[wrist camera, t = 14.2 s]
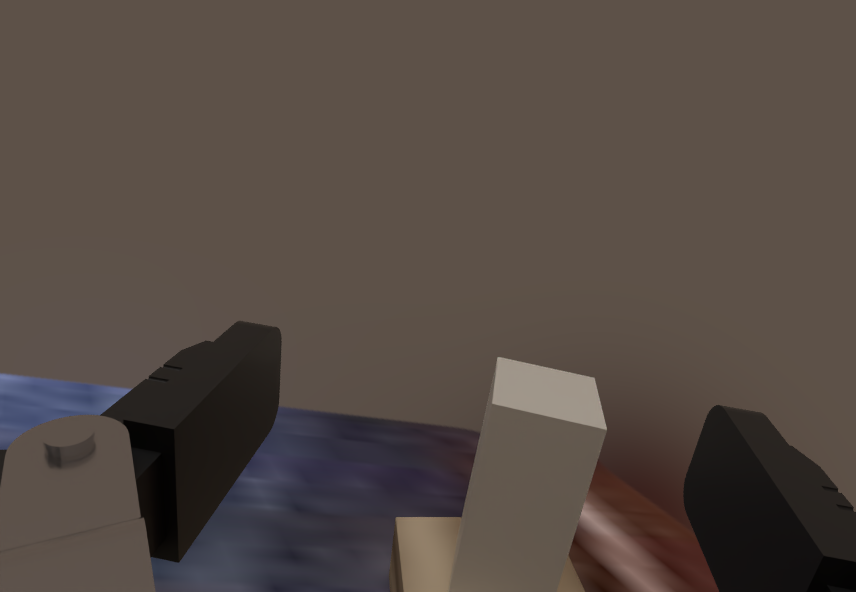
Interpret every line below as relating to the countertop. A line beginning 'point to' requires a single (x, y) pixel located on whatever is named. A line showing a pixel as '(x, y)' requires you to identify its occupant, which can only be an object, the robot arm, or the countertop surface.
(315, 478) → the countertop surface
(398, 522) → the beech block
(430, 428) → the countertop surface
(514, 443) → the cream block
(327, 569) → the countertop surface
